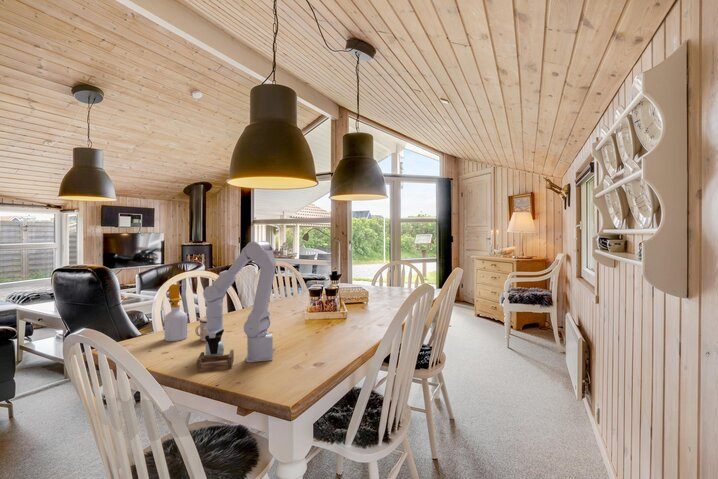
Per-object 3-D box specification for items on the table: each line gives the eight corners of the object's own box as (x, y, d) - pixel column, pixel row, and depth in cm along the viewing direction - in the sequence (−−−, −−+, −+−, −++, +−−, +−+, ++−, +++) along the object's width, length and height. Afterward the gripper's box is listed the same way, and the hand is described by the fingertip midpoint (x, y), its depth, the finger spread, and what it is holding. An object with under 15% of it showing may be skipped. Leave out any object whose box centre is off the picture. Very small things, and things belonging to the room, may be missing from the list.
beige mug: (212, 334, 160) (212, 309, 160) (226, 337, 156) (225, 311, 156) (189, 341, 150) (188, 314, 150) (202, 344, 145) (202, 317, 145)
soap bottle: (167, 343, 148) (166, 286, 147) (162, 338, 155) (162, 283, 154) (189, 338, 154) (189, 284, 153) (184, 334, 160) (183, 281, 160)
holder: (233, 360, 127) (233, 349, 127) (231, 368, 120) (231, 357, 120) (201, 363, 124) (201, 352, 124) (197, 371, 117) (196, 360, 117)
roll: (224, 352, 136) (224, 339, 136) (222, 356, 131) (222, 343, 131) (207, 353, 135) (207, 340, 135) (205, 358, 130) (205, 345, 130)
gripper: (206, 312, 139) (207, 346, 139) (200, 321, 125) (200, 358, 125) (225, 311, 141) (225, 344, 141) (220, 320, 127) (221, 356, 127)
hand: (215, 351), depth 133 cm, fingers open, 5 cm apart
